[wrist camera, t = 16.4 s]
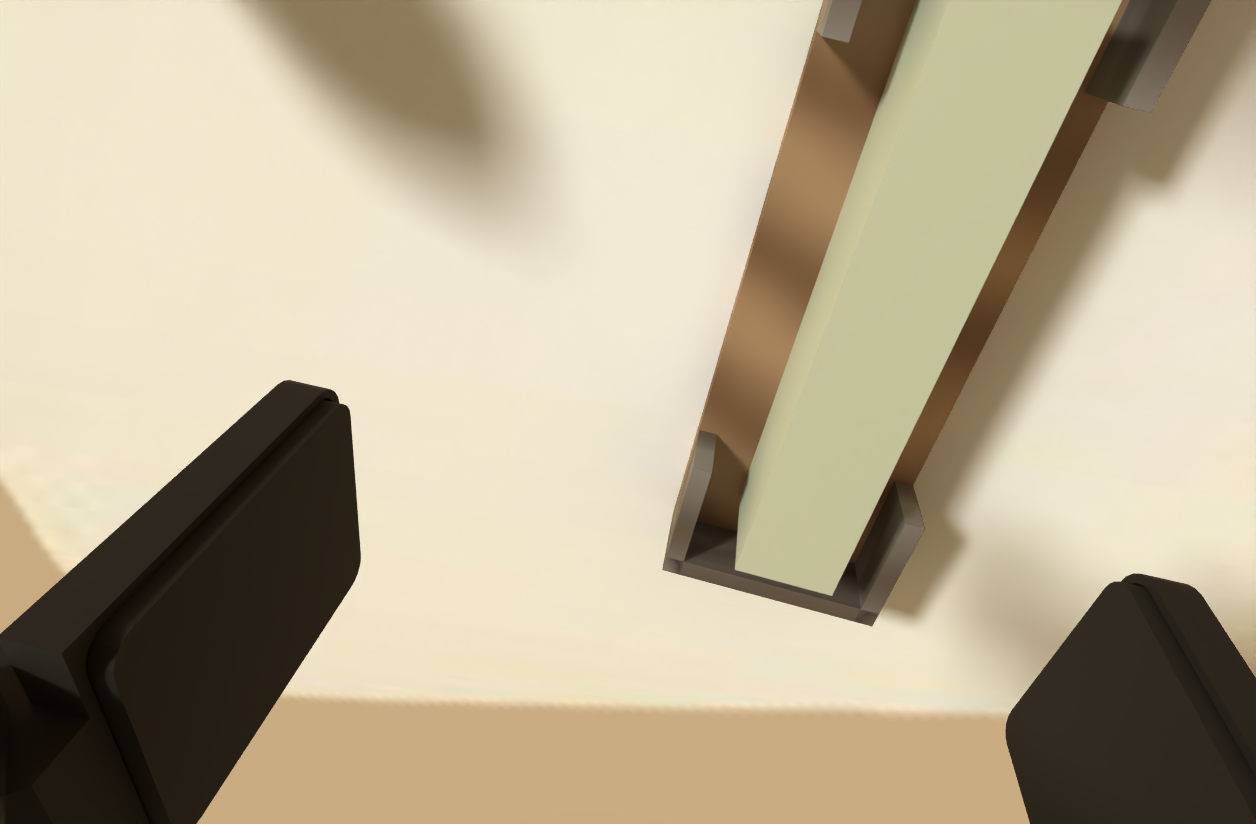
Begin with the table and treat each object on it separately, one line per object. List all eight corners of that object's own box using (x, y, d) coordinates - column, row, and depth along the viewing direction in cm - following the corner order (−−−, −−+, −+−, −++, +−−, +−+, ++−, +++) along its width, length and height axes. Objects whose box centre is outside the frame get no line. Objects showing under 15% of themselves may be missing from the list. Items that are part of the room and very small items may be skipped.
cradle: (877, -186, 22) (897, -219, 18) (1200, -117, 21) (1284, -137, 18) (673, 512, 36) (662, 569, 33) (862, 562, 36) (872, 626, 32)
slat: (937, -62, 22) (976, -73, 18) (1068, -32, 22) (1139, -36, 18) (739, 495, 34) (734, 569, 29) (824, 518, 34) (831, 595, 29)
